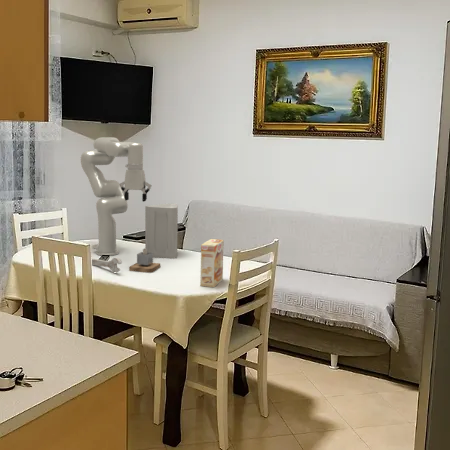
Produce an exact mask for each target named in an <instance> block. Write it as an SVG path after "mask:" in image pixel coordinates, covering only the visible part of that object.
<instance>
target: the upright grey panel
mask: <svg viewBox="0 0 450 450" xmlns="http://www.w3.org/2000/svg"><path fill="white" fill-rule="evenodd" d="M144 207H145V208H144V209H145V211H144V212H145V213H144V215H145V219H144V220H145V230H144V231H145V240H144V242H145V246H144V248H146V249H147V252H149V253H153V259H168V260H169V259H171V260H172V259H173V260H174V259H177V258H178V217H179V216H178V214H179V213H178V211H179V209H178V207H179V204H178V203H173V202H171V203H164V204H163V203H162V204H160V203H159V204H151V205H145V206H144Z"/></svg>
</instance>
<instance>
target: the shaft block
mask: <svg viewBox="0 0 450 450" xmlns="http://www.w3.org/2000/svg"><path fill="white" fill-rule="evenodd" d="M142 252H143V254H146V255H147V249H146V248H145V247H144V248H143V249H142ZM128 267H129V268H128V271H129V272H138V273H139V272H140V273H149V274H151V273H154V272H155V271H157V270H158V269H160V268H161V263H159V262H153V263H151V264H149V265H142V264H137V262H135V263H134V264H132V265H130V266H128Z"/></svg>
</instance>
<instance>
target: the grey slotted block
mask: <svg viewBox="0 0 450 450" xmlns="http://www.w3.org/2000/svg"><path fill="white" fill-rule="evenodd" d="M153 260H154V258H153V253H149V252H147V255H146V254H143V251H141V252H139V253H137V254H136V263H137V264H142V265H149V264H151V263H154V261H153Z"/></svg>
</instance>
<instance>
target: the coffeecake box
mask: <svg viewBox="0 0 450 450" xmlns="http://www.w3.org/2000/svg"><path fill="white" fill-rule="evenodd" d="M224 242H225V241H224V239H217V238H216V239H215V238H210V239H208V240H207V241H204V242H203V243H202V244H200V276H199V277H200V282H199V286H200V287H208V288H215V287H216V286H217V285H218V284H219V283H221V281H222V280H223V279H224V271H223V270H224Z"/></svg>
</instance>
